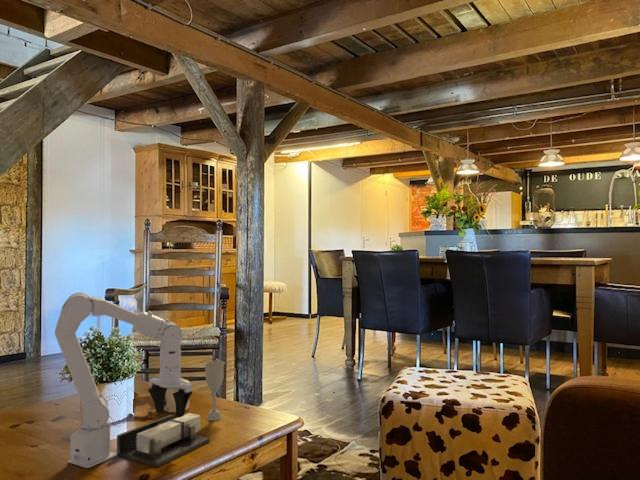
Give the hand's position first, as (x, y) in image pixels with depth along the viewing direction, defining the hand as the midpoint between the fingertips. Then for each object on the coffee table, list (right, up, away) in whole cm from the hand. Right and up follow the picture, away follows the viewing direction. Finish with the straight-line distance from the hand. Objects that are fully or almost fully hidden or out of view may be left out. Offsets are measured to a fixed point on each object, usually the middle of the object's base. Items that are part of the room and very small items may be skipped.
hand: (170, 414), depth 149 cm
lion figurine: (-18, -10, +28) cm, 35 cm away
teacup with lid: (-7, -10, +33) cm, 35 cm away
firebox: (-1, -9, -1) cm, 9 cm away
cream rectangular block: (0, -7, 0) cm, 7 cm away
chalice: (+8, -10, +25) cm, 28 cm away
